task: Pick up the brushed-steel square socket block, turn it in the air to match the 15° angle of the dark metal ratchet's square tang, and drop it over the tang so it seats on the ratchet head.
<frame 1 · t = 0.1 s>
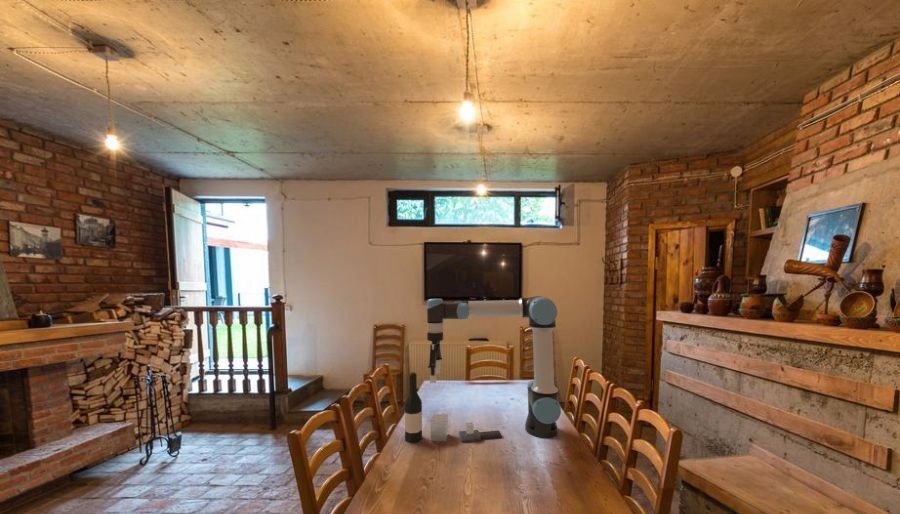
hand: (435, 378, 152), 28 cm above the table, tool pointing down, fingers open, 13 cm apart
wine bottle: (413, 438, 151), on the table
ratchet: (469, 438, 150), on the table
socket: (439, 437, 152), on the table
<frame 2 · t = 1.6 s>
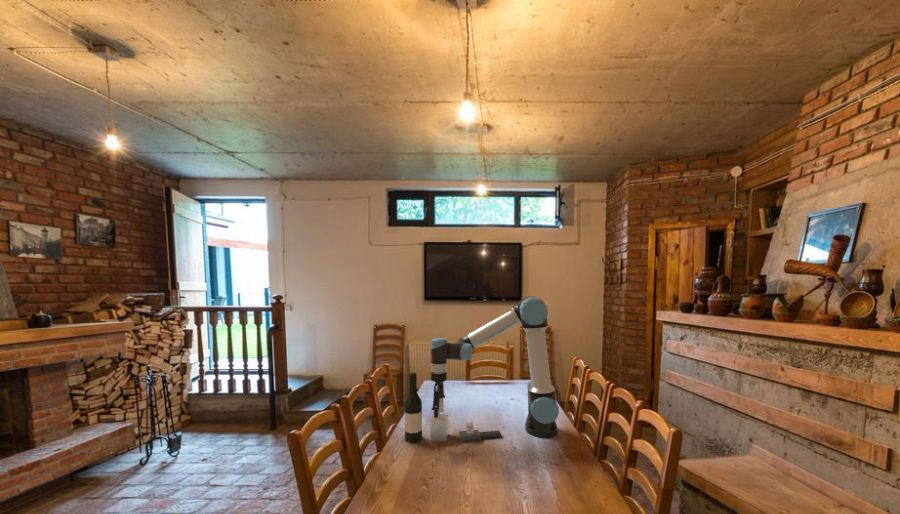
hand: (438, 418, 153), 9 cm above the table, tool pointing down, fingers open, 13 cm apart
nothing on the table moved.
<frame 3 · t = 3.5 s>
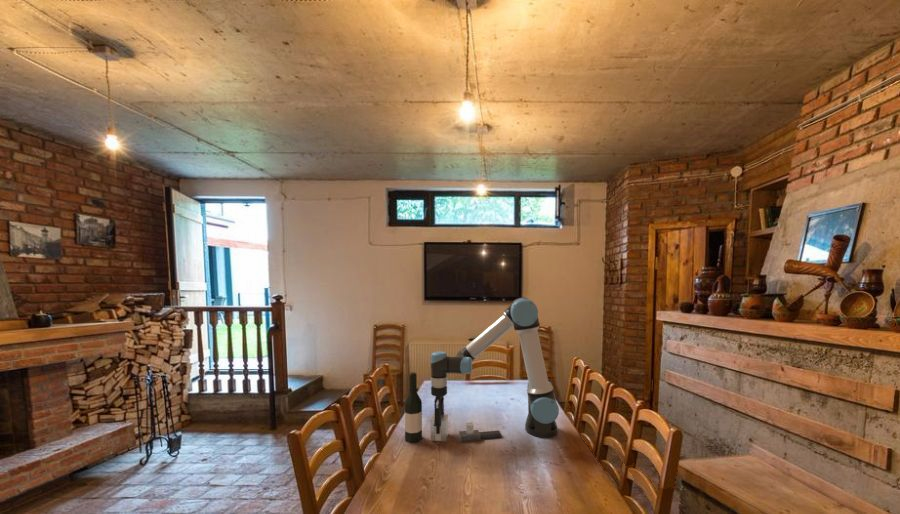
hand: (439, 436, 152), 1 cm above the table, tool pointing down, fingers closed on socket, 7 cm apart
socket: (439, 437, 152), on the table, touching gripper
everything else where it was.
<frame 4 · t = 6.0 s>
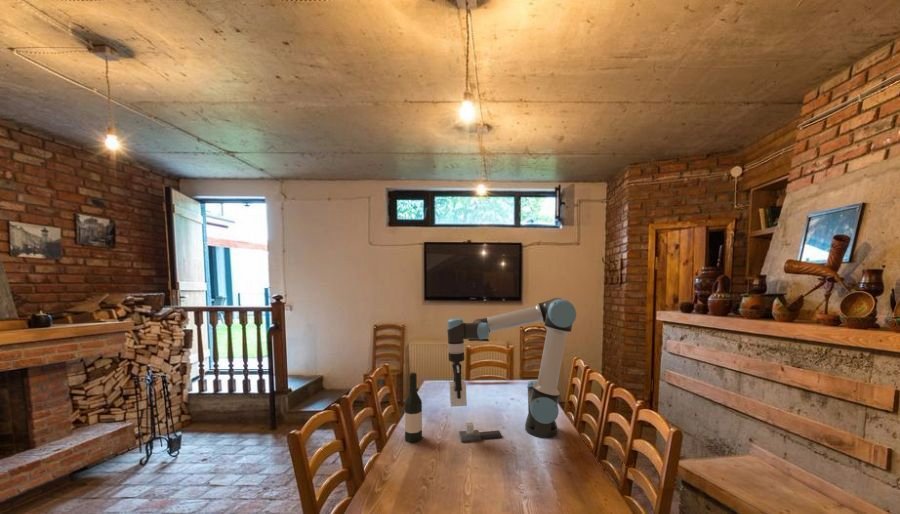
hand: (458, 402, 152), 16 cm above the table, tool pointing down, fingers closed on socket, 7 cm apart
socket: (458, 403, 152), point 16 cm above the table, touching gripper
everything else where it was.
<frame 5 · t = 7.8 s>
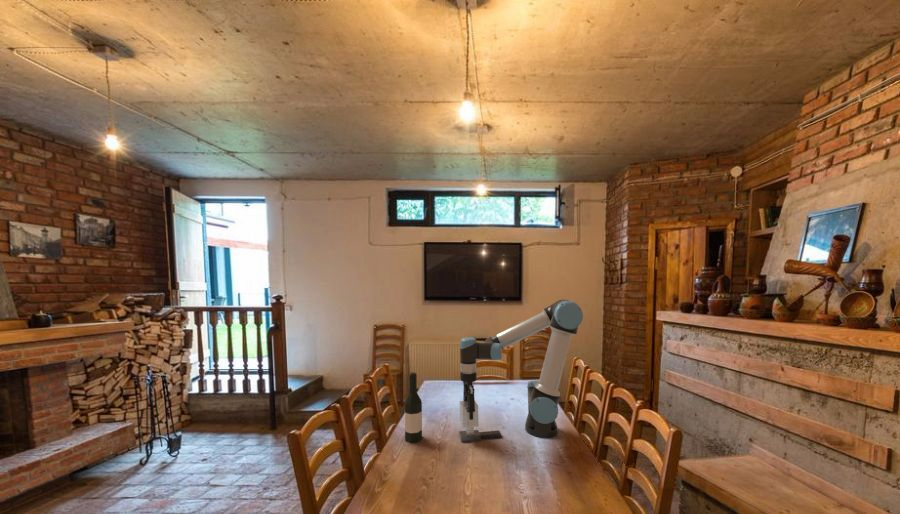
hand: (469, 422, 151), 7 cm above the table, tool pointing down, fingers closed on socket, 7 cm apart
socket: (469, 423, 151), point 7 cm above the table, touching gripper
everything else where it was.
when the fingers open (5 cm above the table, at t = 9.0 s): socket drops 2 cm, point 2 cm above the table.
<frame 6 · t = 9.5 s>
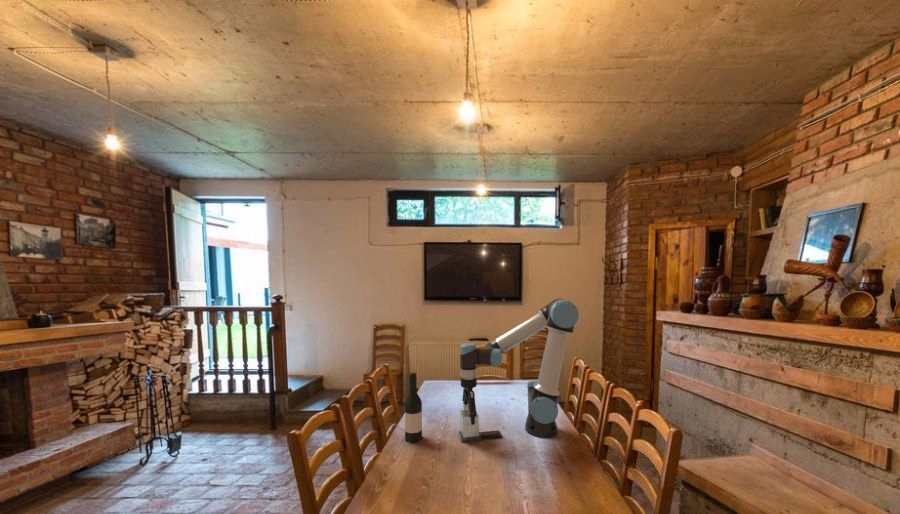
hand: (469, 424, 151), 6 cm above the table, tool pointing down, fingers open, 13 cm apart
socket: (469, 433, 151), point 2 cm above the table
everything else where it was.
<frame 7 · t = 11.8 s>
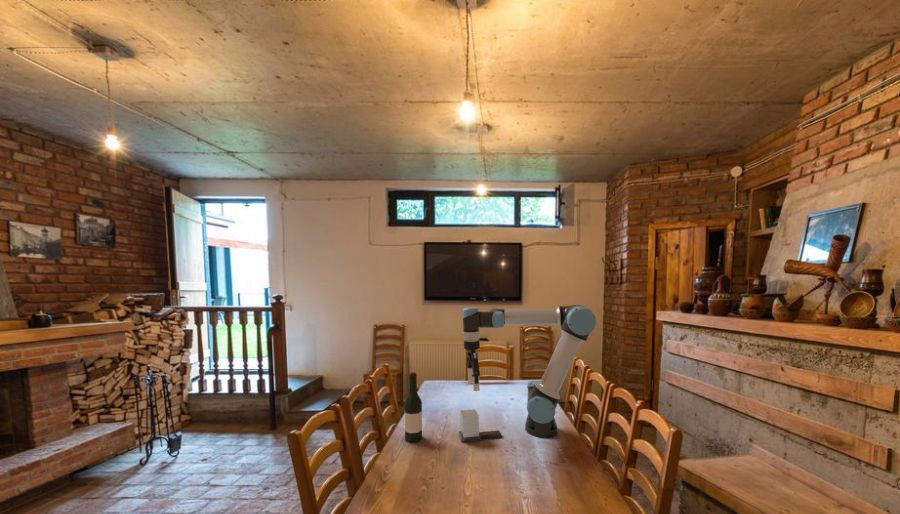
hand: (473, 386, 154), 23 cm above the table, tool pointing down, fingers open, 13 cm apart
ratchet: (469, 438, 150), on the table, touching socket
socket: (469, 433, 151), point 2 cm above the table, touching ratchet
everything else where it was.
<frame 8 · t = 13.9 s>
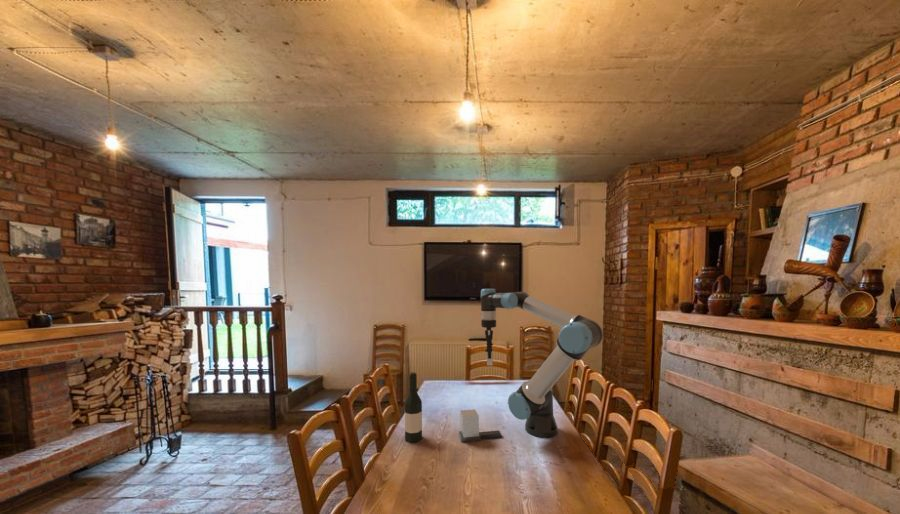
hand: (489, 361, 165), 32 cm above the table, tool pointing down, fingers open, 13 cm apart
nothing on the table moved.
at the end: socket 0.0 cm from the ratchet (horizontally); socket point 2.5 cm above the table; socket tilted 0° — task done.
